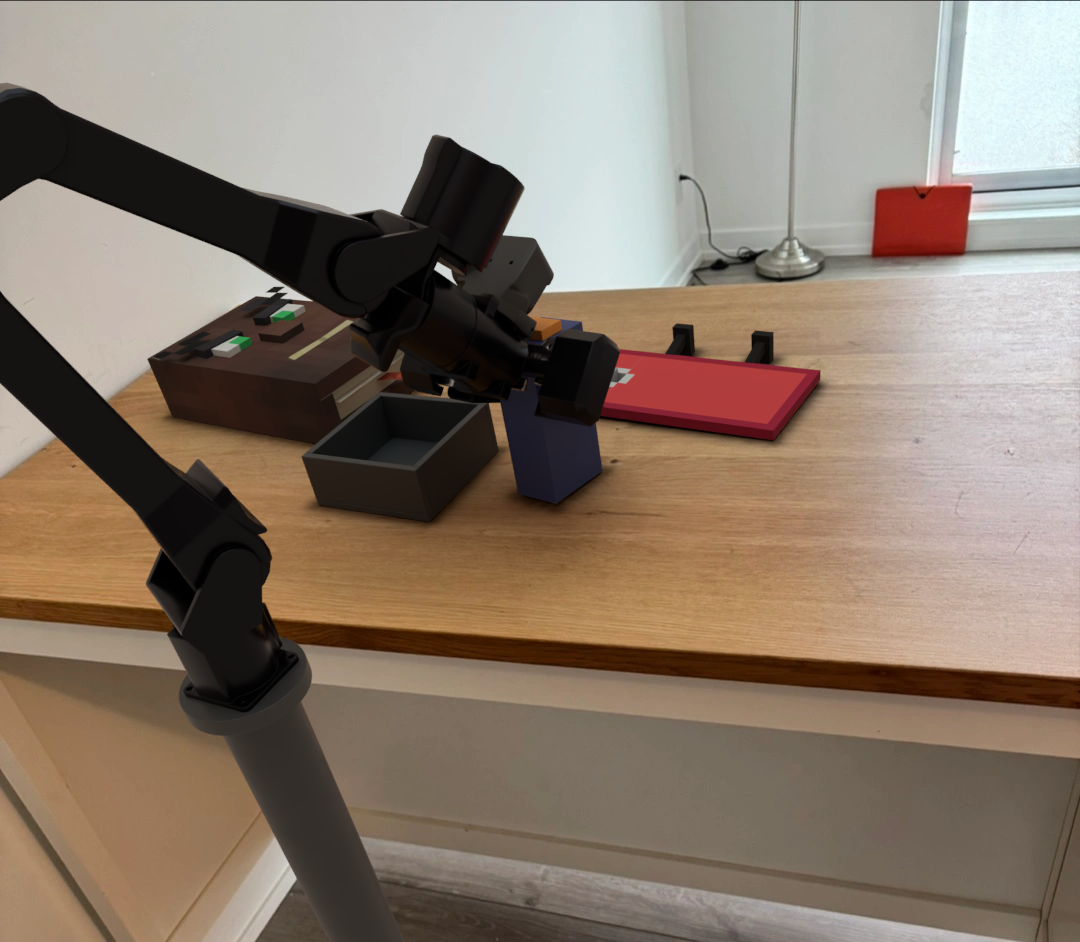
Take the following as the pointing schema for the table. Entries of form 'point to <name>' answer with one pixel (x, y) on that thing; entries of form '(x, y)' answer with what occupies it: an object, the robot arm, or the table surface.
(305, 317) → the decorative book
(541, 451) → the block
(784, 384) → the red board with handle
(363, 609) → the table surface
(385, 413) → the bin
